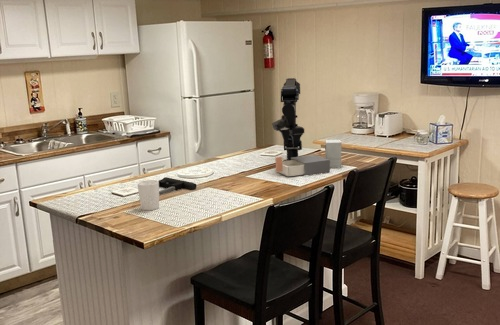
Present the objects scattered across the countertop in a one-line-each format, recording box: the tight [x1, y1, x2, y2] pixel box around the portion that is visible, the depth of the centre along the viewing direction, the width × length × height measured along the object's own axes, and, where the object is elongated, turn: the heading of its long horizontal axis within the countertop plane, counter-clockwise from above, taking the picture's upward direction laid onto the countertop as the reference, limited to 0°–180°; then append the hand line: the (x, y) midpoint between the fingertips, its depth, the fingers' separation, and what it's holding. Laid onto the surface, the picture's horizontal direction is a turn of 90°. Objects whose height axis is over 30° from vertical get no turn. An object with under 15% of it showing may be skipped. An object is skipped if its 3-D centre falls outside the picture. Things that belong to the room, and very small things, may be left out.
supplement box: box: [325, 139, 342, 169], centre depth 253 cm, size 7×7×13 cm
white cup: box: [137, 179, 160, 211], centre depth 196 cm, size 8×8×10 cm
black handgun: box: [158, 176, 197, 196], centre depth 223 cm, size 3×20×16 cm
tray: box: [275, 156, 305, 177], centre depth 241 cm, size 12×15×8 cm
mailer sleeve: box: [291, 154, 331, 176], centre depth 245 cm, size 14×13×6 cm
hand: (290, 145), depth 248 cm, fingers open, 9 cm apart
